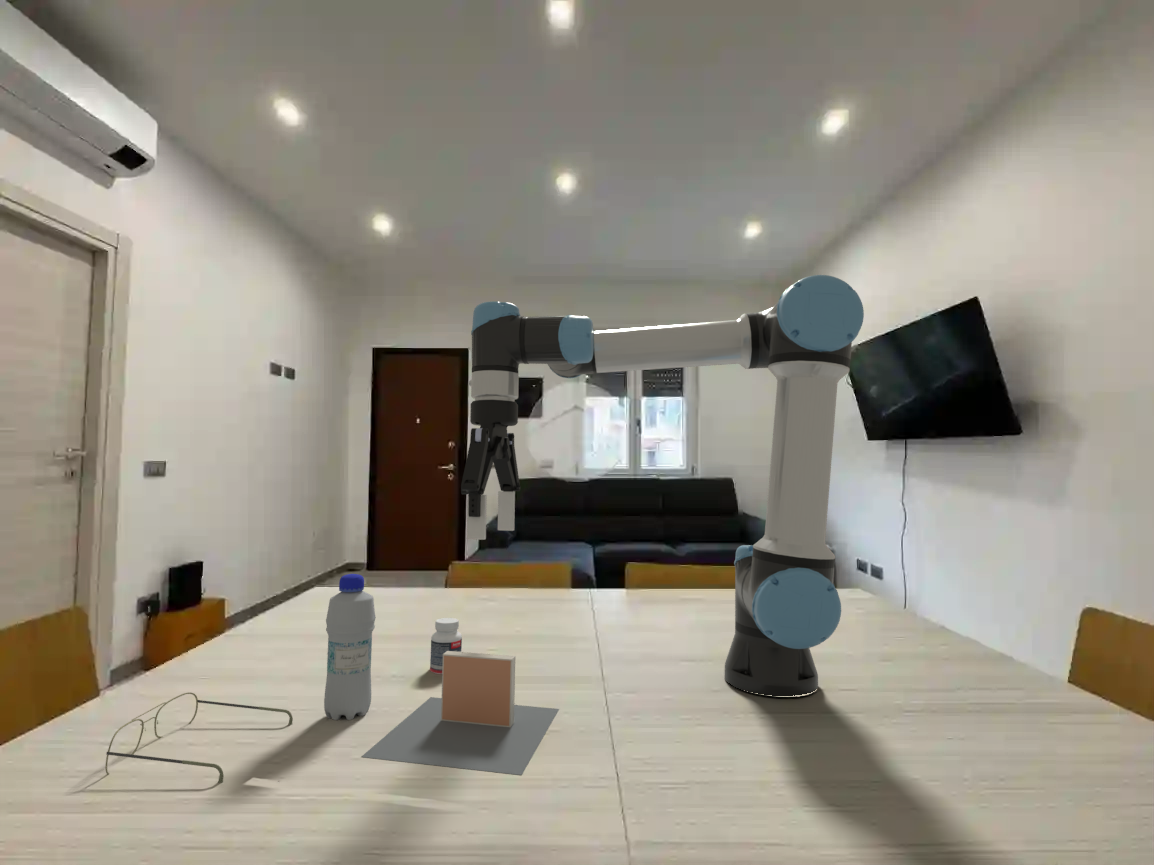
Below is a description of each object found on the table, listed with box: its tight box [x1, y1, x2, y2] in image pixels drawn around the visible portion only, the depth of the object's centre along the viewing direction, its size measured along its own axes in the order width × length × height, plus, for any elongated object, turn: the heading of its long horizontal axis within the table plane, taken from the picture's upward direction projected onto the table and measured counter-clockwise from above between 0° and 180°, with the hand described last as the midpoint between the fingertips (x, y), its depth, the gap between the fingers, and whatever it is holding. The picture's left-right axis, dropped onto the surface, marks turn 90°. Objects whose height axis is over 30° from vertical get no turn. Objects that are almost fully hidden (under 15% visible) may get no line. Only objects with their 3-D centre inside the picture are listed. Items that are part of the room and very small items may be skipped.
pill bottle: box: [429, 617, 463, 675], centre depth 108 cm, size 5×5×9 cm
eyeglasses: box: [104, 691, 294, 783], centre depth 78 cm, size 16×15×5 cm
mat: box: [360, 696, 560, 776], centre depth 83 cm, size 20×20×1 cm
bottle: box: [323, 573, 376, 721], centre depth 89 cm, size 7×7×20 cm
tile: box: [441, 651, 516, 727], centre depth 86 cm, size 10×2×9 cm, turn 79°
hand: (492, 534), depth 98 cm, fingers open, 13 cm apart
